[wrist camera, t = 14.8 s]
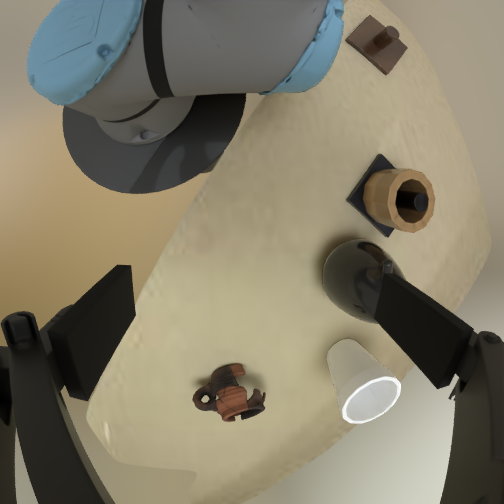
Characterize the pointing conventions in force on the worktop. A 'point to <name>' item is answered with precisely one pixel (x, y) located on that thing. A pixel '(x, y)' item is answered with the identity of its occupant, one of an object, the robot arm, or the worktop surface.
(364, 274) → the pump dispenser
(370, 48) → the low peg stand
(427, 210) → the maple ring
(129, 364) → the worktop surface
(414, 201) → the square base peg
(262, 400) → the pottery mug
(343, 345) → the foam cup
